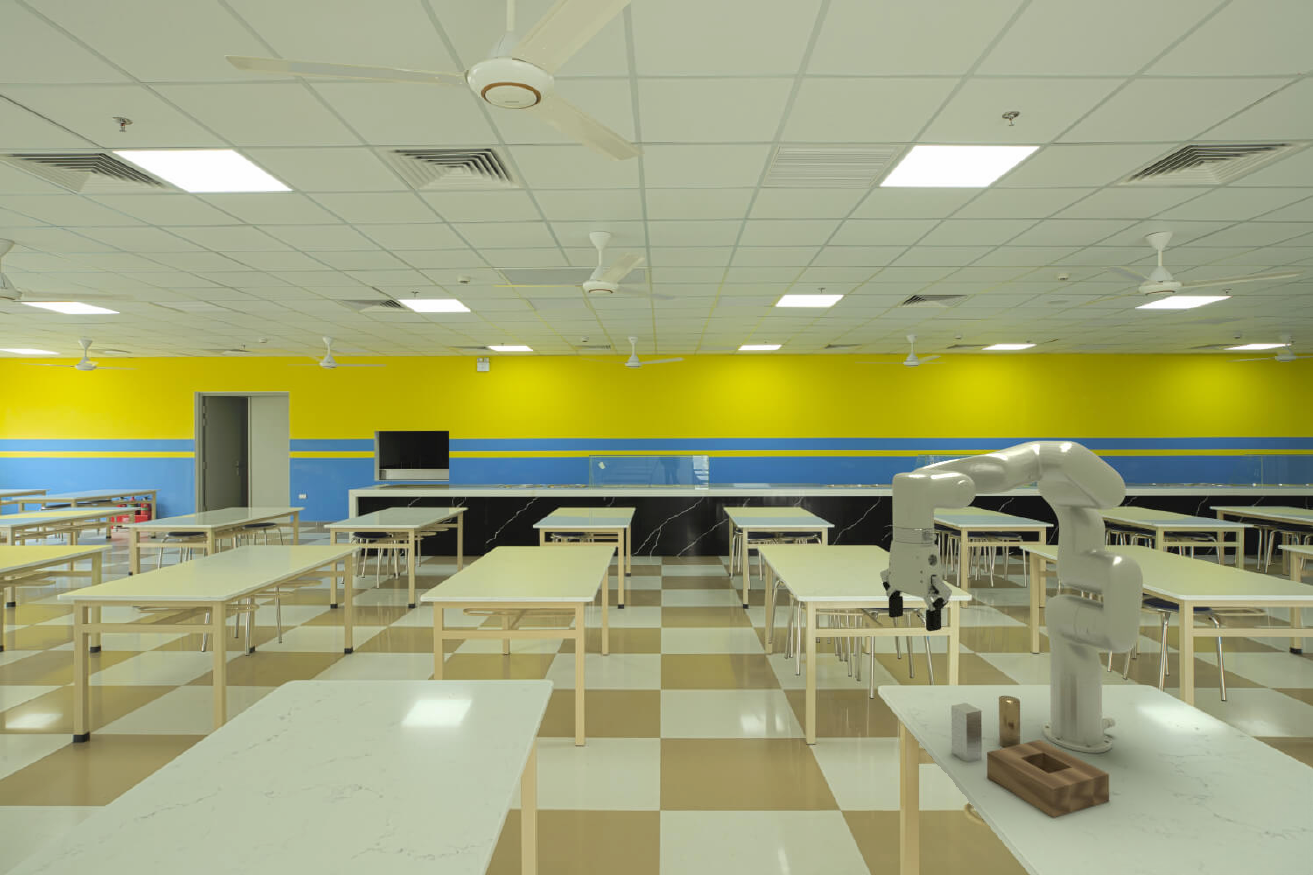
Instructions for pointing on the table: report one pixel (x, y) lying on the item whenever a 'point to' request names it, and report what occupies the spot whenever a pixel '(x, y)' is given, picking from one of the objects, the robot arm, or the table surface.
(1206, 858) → the table surface
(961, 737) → the square peg
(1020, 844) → the table surface
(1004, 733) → the round peg
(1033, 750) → the socket block
